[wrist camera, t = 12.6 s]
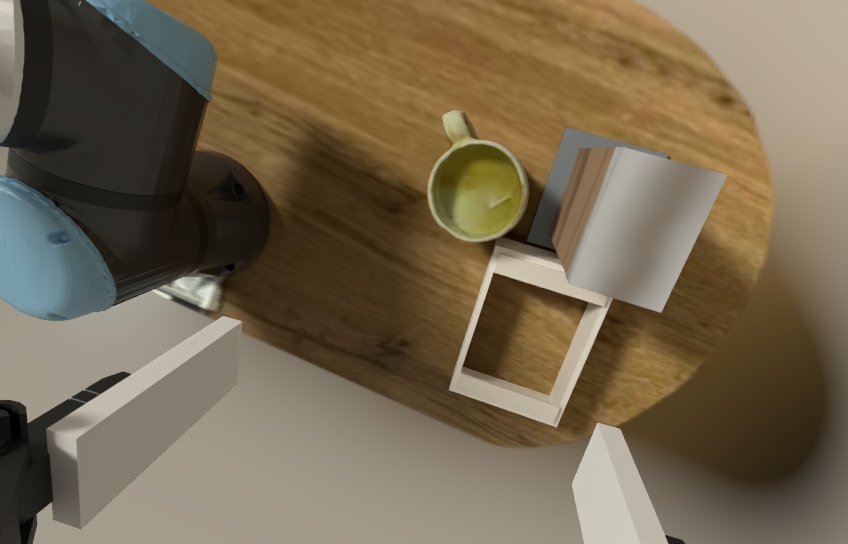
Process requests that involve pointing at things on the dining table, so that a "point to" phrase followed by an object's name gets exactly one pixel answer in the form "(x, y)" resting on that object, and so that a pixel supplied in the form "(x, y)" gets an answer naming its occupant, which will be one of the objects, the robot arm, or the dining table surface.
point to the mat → (561, 175)
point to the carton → (549, 408)
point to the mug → (476, 185)
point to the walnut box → (631, 222)
